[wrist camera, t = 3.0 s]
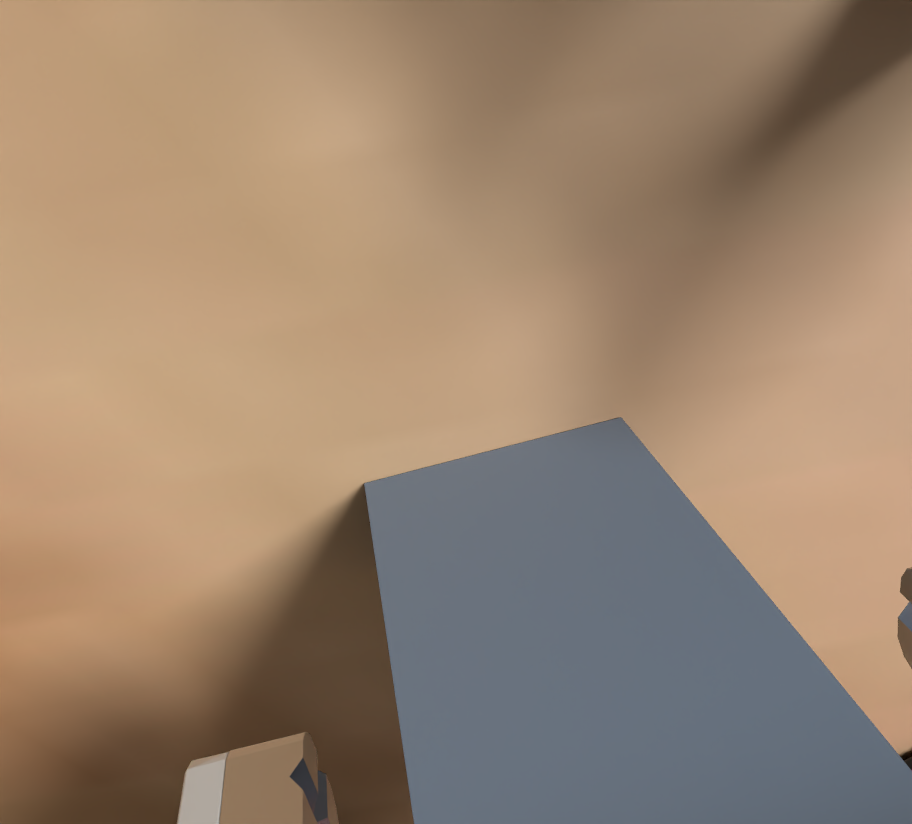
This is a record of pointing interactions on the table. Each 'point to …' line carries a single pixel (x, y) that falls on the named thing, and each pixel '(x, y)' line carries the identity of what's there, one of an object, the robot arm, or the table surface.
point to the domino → (603, 654)
